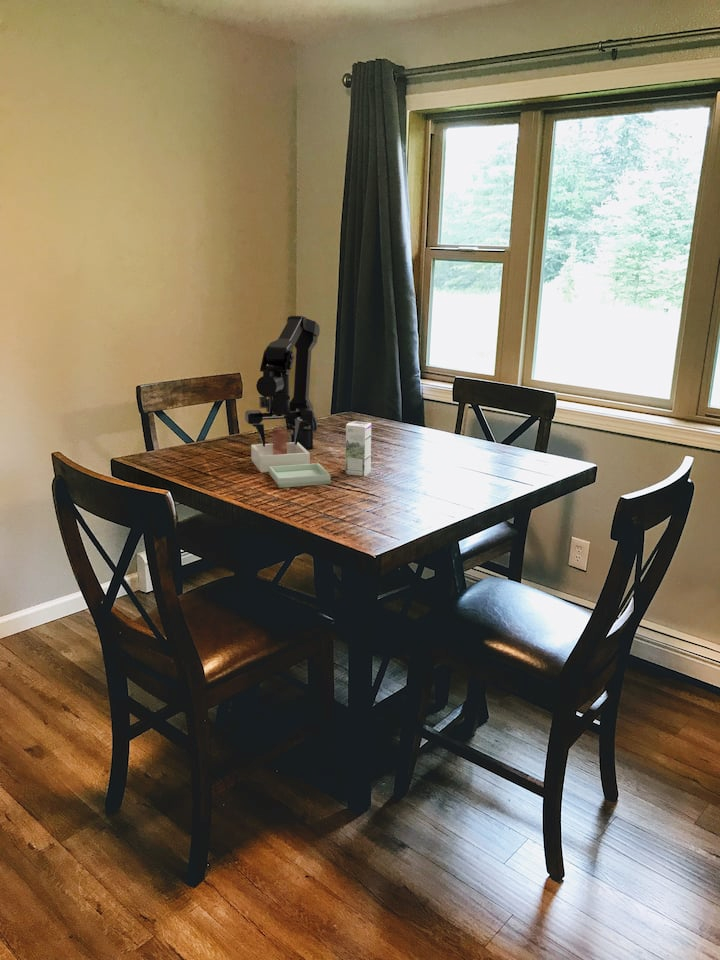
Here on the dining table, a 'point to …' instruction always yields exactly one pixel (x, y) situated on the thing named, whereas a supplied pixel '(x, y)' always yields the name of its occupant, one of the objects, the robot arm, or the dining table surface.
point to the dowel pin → (279, 441)
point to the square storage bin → (278, 456)
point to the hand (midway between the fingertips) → (279, 445)
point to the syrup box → (358, 448)
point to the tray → (299, 475)
